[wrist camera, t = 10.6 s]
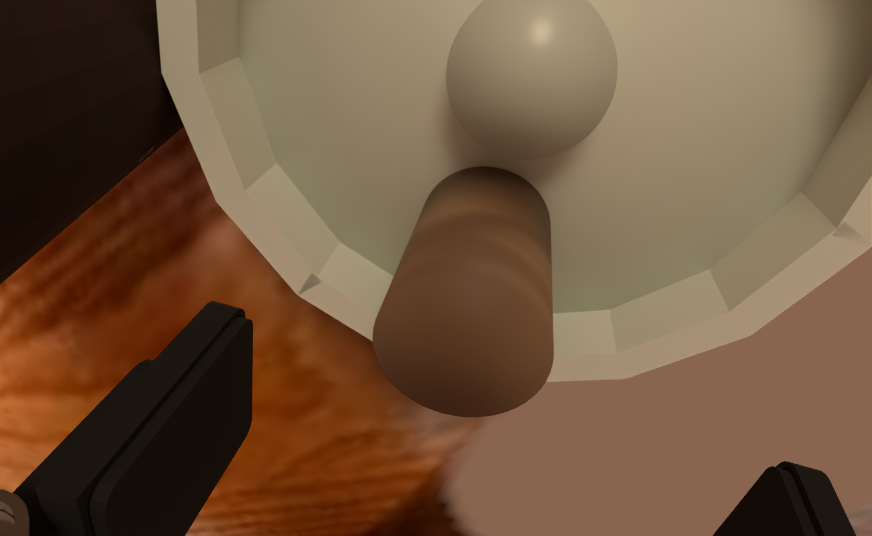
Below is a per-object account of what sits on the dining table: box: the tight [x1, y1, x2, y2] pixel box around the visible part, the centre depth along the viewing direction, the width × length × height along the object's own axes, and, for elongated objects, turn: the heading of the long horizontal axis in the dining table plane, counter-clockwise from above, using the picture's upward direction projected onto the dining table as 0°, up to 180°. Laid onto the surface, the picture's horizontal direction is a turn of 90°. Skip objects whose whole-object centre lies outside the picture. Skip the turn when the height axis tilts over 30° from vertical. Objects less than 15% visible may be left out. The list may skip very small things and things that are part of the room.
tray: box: [156, 0, 872, 382], centre depth 14 cm, size 18×18×3 cm
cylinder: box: [372, 166, 554, 417], centre depth 15 cm, size 4×4×6 cm
